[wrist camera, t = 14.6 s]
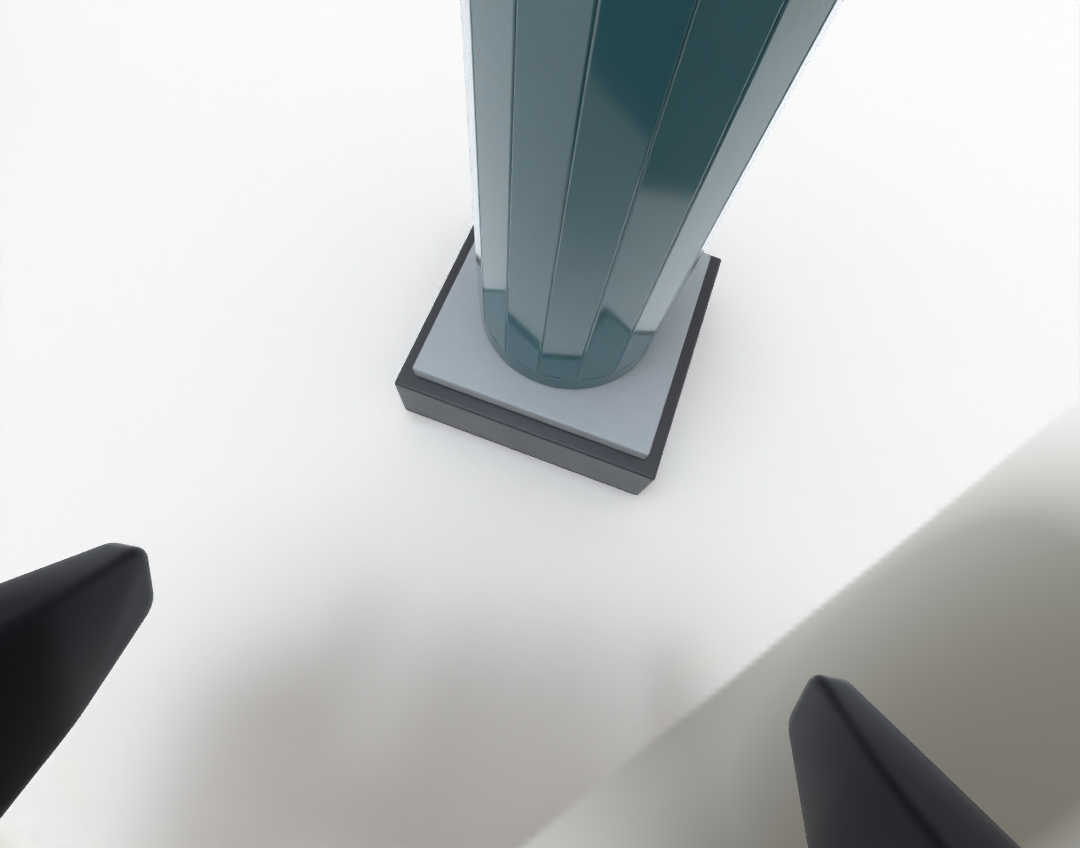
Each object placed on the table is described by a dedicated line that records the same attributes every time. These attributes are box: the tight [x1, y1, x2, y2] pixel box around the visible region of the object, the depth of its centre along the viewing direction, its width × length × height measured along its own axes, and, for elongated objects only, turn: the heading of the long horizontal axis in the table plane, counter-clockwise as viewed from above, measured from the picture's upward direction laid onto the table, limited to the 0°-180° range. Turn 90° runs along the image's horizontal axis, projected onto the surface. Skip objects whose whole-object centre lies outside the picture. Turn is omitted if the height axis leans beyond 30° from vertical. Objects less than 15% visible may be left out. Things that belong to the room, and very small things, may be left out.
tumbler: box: [460, 0, 844, 389], centre depth 13 cm, size 6×6×13 cm
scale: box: [395, 225, 721, 495], centre depth 21 cm, size 9×9×3 cm
